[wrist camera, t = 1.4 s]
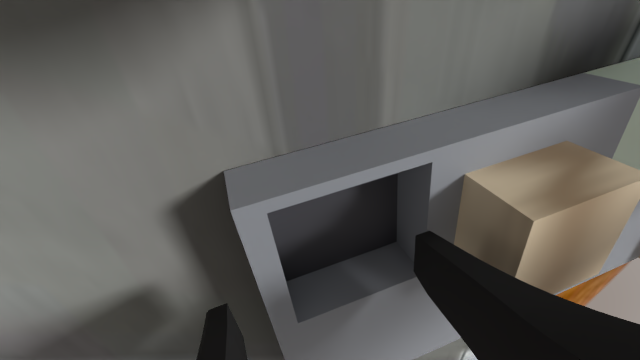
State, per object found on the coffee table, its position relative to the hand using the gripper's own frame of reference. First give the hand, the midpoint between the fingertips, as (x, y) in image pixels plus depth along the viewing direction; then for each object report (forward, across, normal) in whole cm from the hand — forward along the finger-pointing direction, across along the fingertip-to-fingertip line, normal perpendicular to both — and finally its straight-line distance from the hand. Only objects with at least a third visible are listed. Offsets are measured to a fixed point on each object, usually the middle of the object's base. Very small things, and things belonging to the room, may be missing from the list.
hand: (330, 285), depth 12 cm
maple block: (+1, -8, 0) cm, 9 cm away
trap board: (+3, -10, +3) cm, 11 cm away
